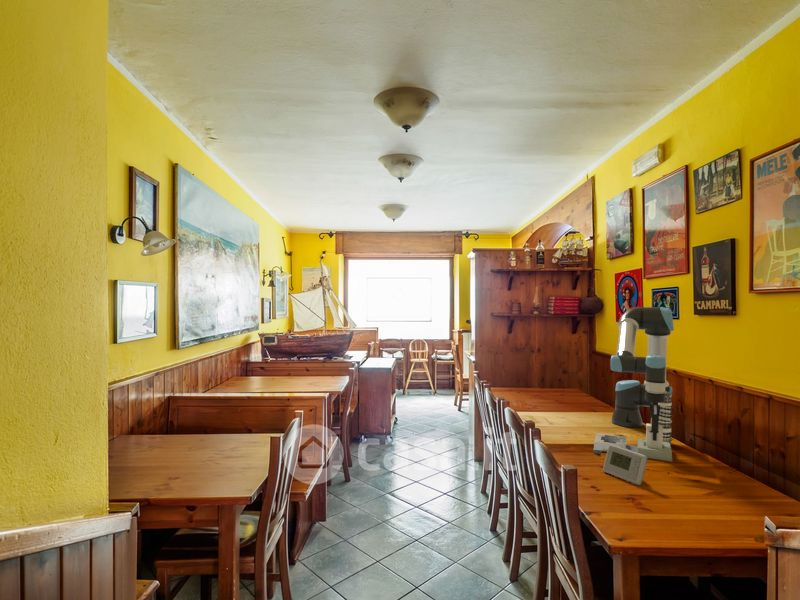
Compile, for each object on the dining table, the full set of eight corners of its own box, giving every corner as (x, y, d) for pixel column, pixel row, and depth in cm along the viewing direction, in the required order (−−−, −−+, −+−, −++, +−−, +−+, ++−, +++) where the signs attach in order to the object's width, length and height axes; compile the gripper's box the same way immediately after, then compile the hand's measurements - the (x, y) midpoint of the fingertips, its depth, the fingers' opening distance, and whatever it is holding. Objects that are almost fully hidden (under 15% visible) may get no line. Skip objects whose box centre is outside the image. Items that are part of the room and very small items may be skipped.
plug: (646, 453, 198) (646, 418, 198) (645, 450, 202) (646, 416, 202) (662, 456, 195) (662, 420, 195) (661, 452, 199) (662, 418, 199)
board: (593, 453, 202) (593, 449, 202) (595, 443, 216) (595, 440, 216) (672, 465, 189) (672, 461, 189) (670, 454, 202) (670, 450, 202)
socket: (593, 449, 202) (594, 441, 202) (596, 440, 216) (596, 432, 216) (625, 454, 197) (625, 446, 197) (626, 444, 210) (626, 436, 210)
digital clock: (600, 471, 181) (600, 444, 181) (619, 469, 184) (619, 442, 184) (631, 487, 166) (632, 458, 165) (652, 485, 168) (652, 456, 168)
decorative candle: (671, 450, 207) (672, 394, 207) (648, 446, 213) (649, 391, 213) (674, 445, 215) (674, 391, 214) (651, 441, 220) (652, 389, 220)
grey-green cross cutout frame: (637, 456, 195) (637, 447, 195) (637, 446, 208) (637, 438, 208) (671, 461, 189) (671, 452, 189) (669, 450, 202) (669, 442, 202)
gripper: (644, 387, 208) (643, 439, 208) (645, 394, 192) (644, 450, 192) (664, 389, 204) (663, 441, 205) (666, 396, 189) (665, 453, 189)
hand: (654, 445), depth 198 cm, fingers closed on plug, 4 cm apart
